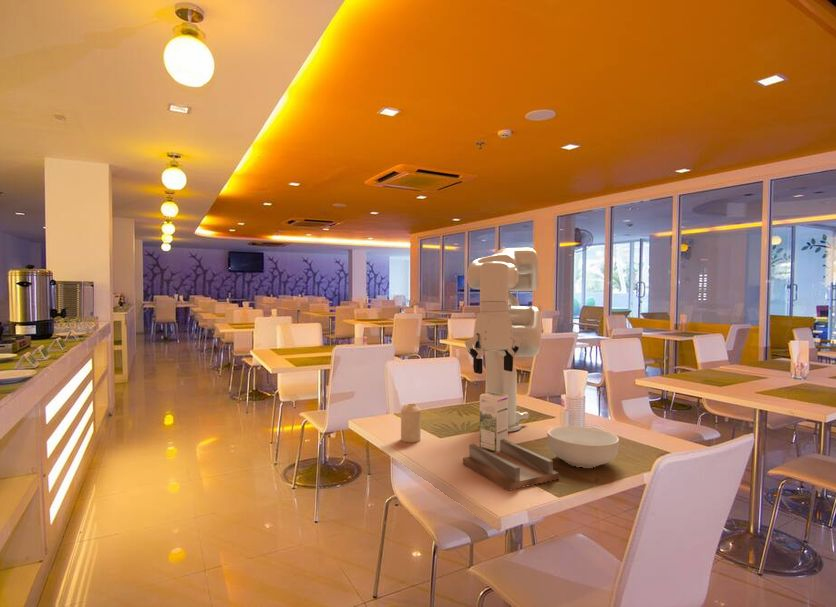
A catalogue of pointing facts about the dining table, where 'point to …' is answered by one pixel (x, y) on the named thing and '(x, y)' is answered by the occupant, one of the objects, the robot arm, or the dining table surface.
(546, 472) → the track board
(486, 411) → the syrup box
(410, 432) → the candle
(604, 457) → the cereal bowl
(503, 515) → the dining table surface
